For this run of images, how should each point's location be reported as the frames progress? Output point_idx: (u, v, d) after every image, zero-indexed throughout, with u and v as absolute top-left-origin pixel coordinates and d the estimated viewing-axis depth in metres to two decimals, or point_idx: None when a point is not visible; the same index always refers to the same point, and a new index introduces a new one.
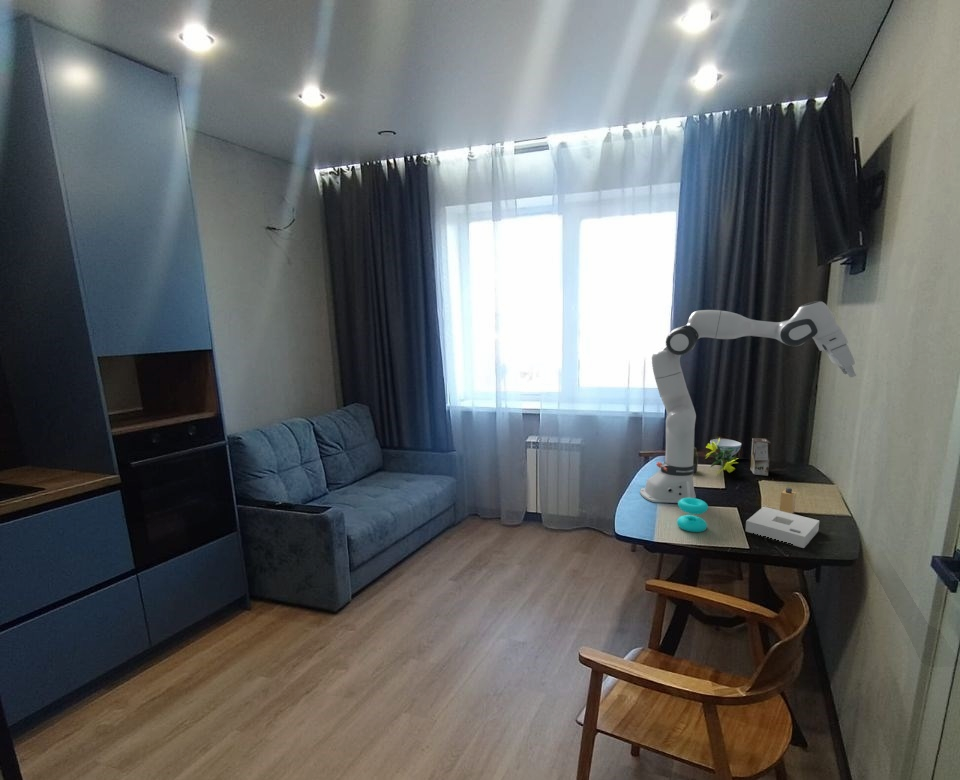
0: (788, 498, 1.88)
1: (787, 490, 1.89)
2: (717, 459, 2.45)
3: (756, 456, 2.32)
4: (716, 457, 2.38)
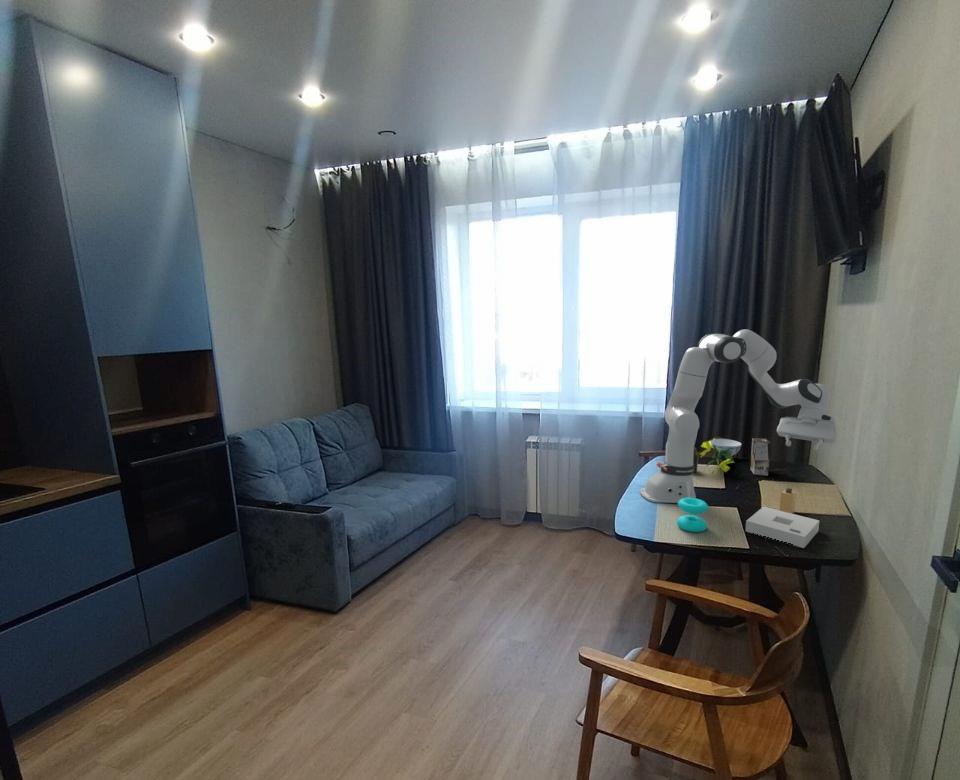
0: (788, 498, 1.88)
1: (787, 490, 1.89)
2: (715, 458, 2.46)
3: (756, 456, 2.32)
4: (712, 456, 2.40)
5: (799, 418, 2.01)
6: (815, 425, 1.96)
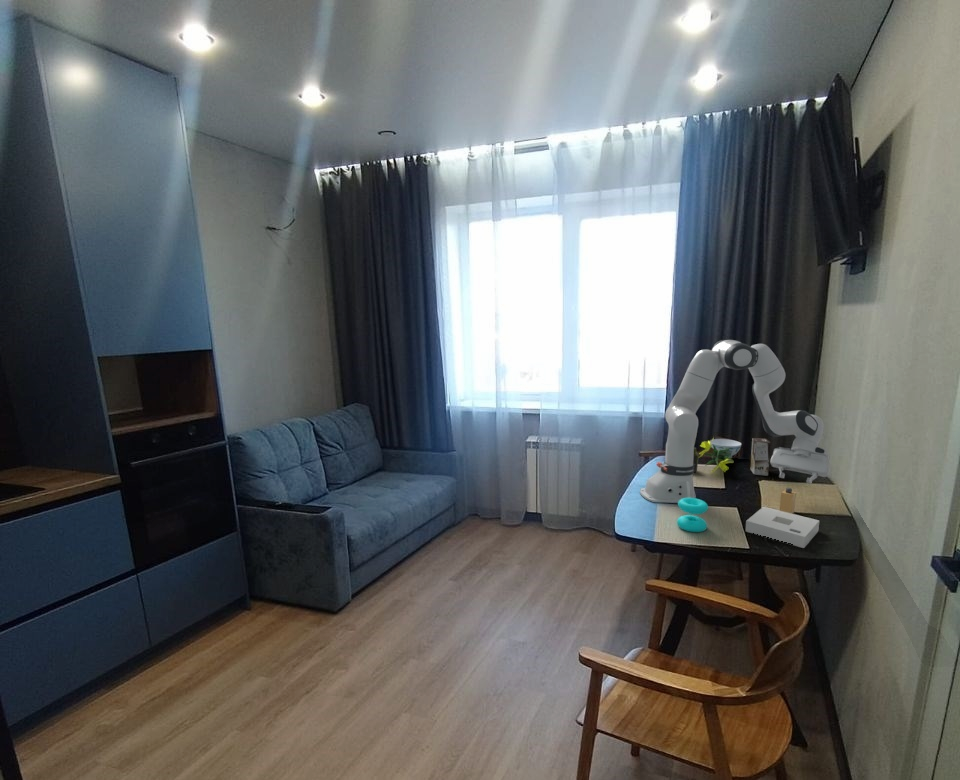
0: (788, 498, 1.88)
1: (787, 490, 1.89)
2: (714, 458, 2.46)
3: (756, 456, 2.32)
4: (711, 456, 2.40)
5: (793, 450, 1.99)
6: (809, 457, 1.95)
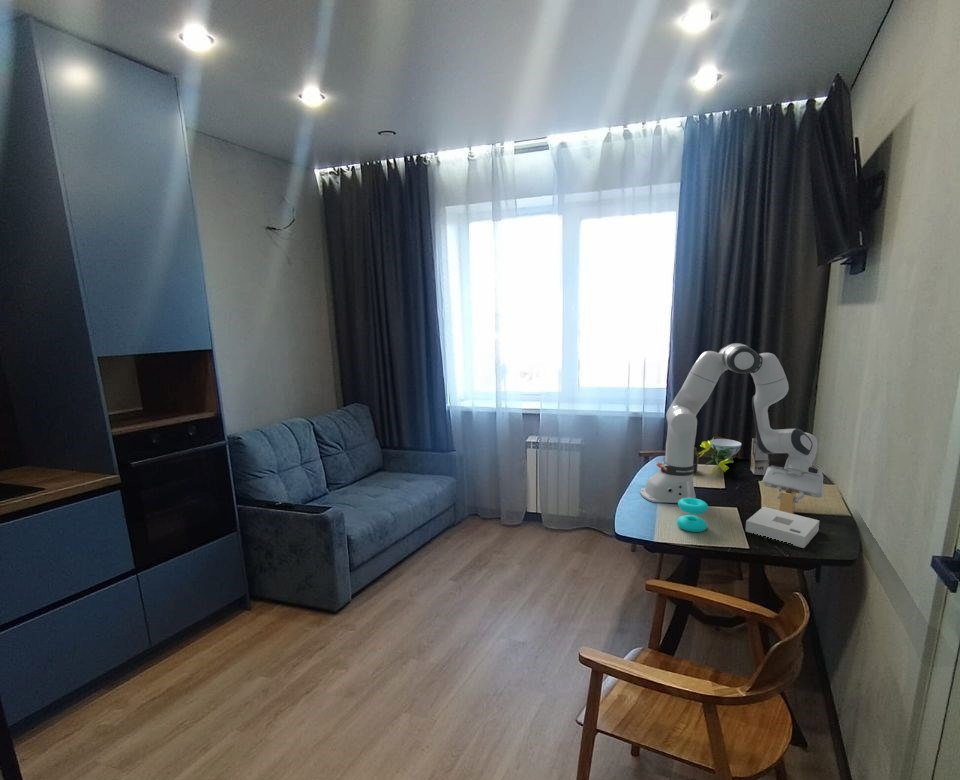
0: (788, 498, 1.88)
1: (787, 490, 1.89)
2: (714, 458, 2.46)
3: (756, 456, 2.32)
4: (711, 456, 2.40)
5: (785, 469, 1.95)
6: (802, 477, 1.90)
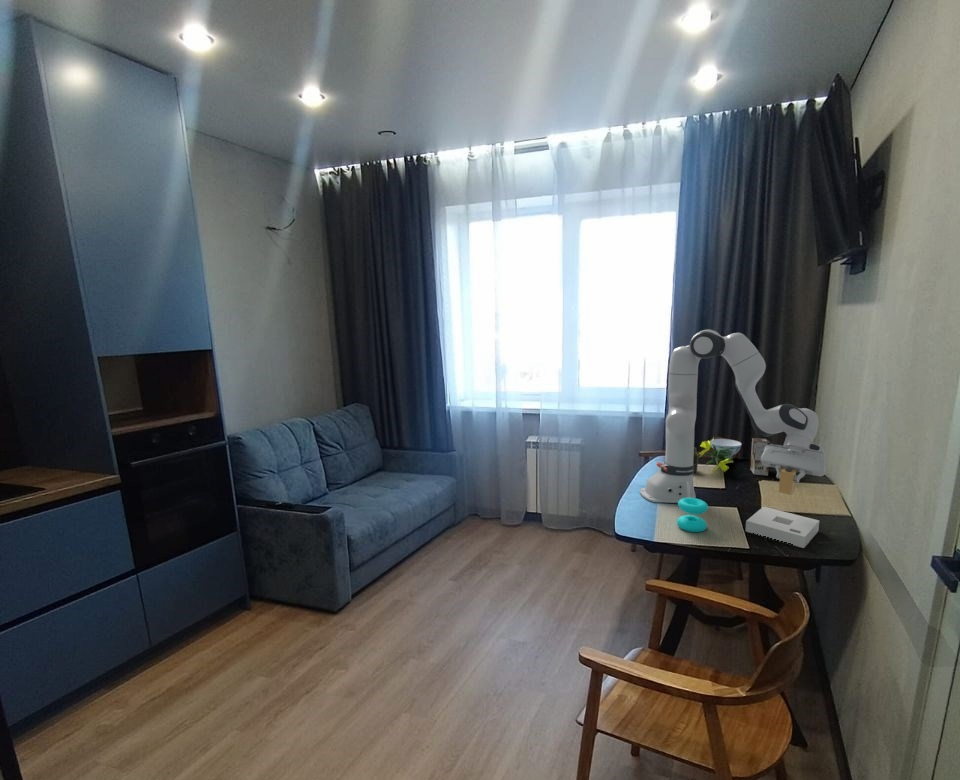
0: (788, 476, 1.76)
1: (787, 468, 1.76)
2: (714, 458, 2.46)
3: (756, 456, 2.32)
4: (711, 456, 2.40)
5: (785, 446, 1.82)
6: (802, 455, 1.78)
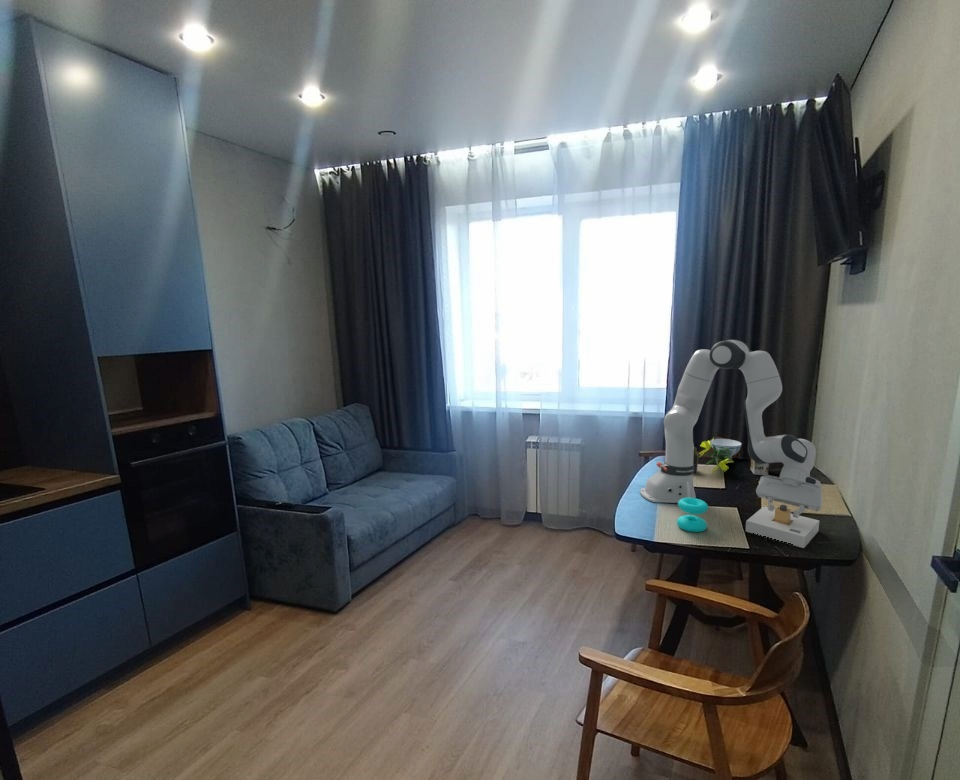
0: (782, 516, 1.72)
1: (781, 507, 1.72)
2: (714, 458, 2.46)
3: None
4: (711, 456, 2.40)
5: (781, 479, 1.78)
6: (798, 488, 1.73)
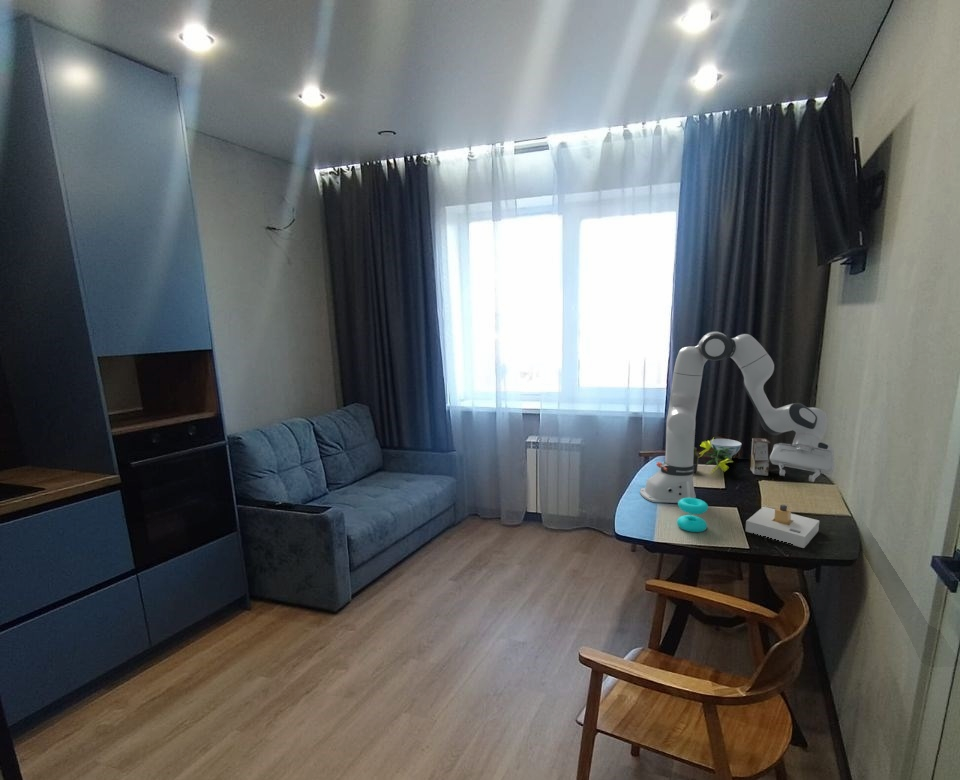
0: (782, 516, 1.72)
1: (782, 507, 1.72)
2: (714, 458, 2.46)
3: (756, 456, 2.32)
4: (711, 456, 2.40)
5: (794, 445, 1.85)
6: (811, 453, 1.81)
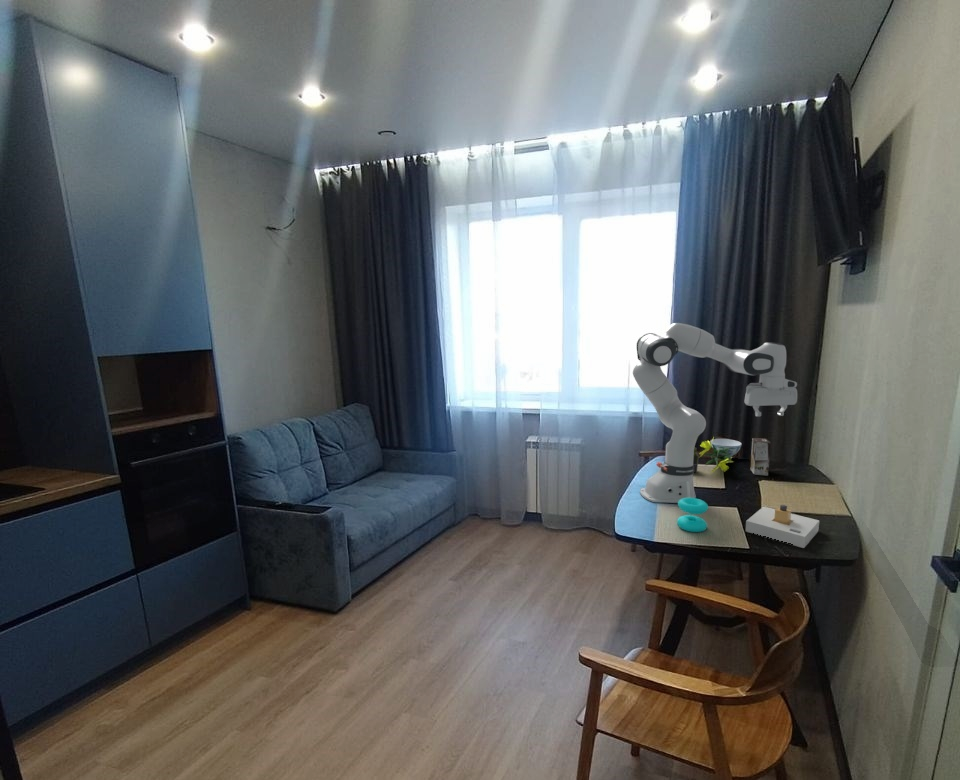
0: (782, 516, 1.72)
1: (782, 507, 1.72)
2: (713, 458, 2.46)
3: (756, 456, 2.32)
4: (711, 456, 2.40)
5: (767, 387, 1.96)
6: (780, 391, 1.97)
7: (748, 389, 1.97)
